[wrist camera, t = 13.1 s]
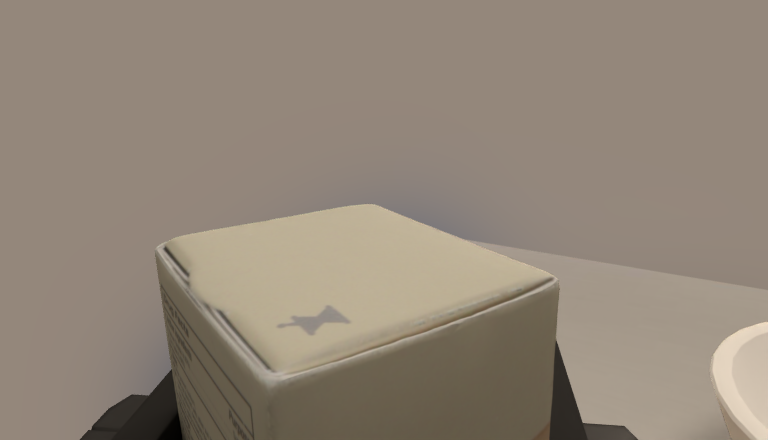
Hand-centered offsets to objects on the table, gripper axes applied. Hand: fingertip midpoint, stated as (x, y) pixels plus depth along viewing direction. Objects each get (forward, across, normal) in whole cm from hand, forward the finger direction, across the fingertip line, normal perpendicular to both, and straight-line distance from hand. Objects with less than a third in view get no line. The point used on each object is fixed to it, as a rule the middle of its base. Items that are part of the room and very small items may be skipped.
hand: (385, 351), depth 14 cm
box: (-5, 0, -7) cm, 8 cm away
